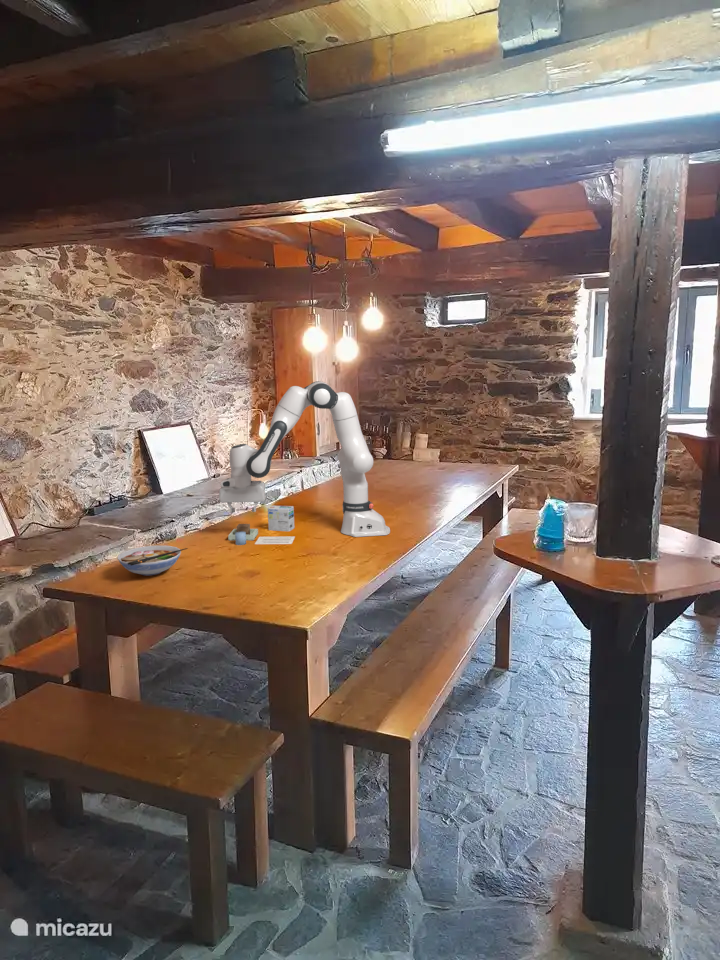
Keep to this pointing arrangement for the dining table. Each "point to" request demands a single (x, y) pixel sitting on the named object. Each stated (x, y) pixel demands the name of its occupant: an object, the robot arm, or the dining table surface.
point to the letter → (275, 540)
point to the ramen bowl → (149, 559)
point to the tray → (248, 537)
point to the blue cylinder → (240, 538)
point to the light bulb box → (281, 518)
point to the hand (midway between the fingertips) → (243, 511)
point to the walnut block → (243, 528)
